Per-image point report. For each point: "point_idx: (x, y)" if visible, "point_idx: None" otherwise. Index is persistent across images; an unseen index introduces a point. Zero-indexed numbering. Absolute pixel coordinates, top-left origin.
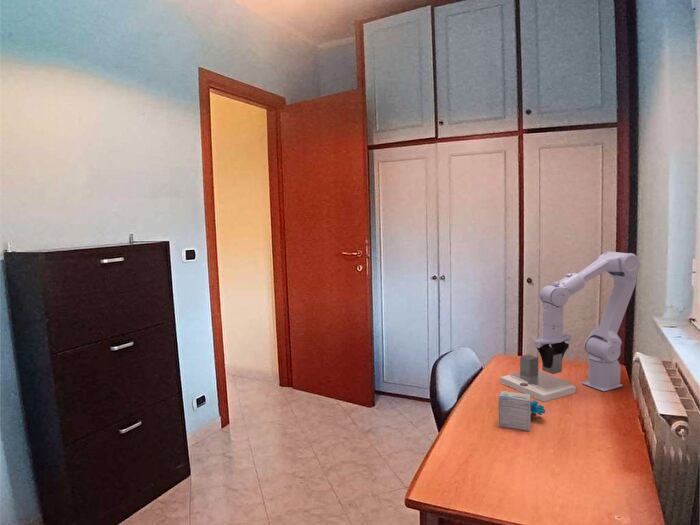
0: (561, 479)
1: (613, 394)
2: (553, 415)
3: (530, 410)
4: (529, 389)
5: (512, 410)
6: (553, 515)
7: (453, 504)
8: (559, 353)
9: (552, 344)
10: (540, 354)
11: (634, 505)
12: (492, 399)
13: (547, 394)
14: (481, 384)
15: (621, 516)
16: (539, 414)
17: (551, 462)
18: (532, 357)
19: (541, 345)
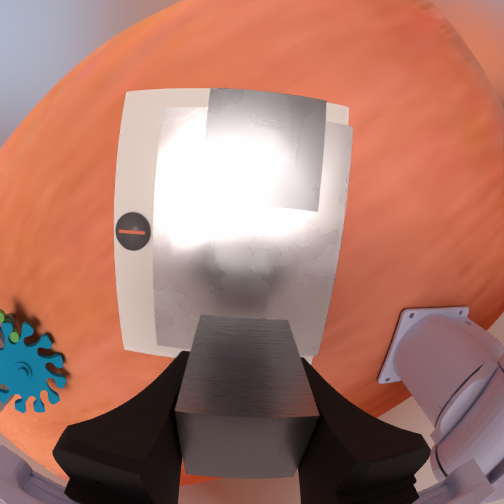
0: (25, 436)
1: (375, 397)
2: (100, 390)
3: (13, 396)
4: (117, 281)
5: None
6: (6, 436)
7: None
8: (274, 474)
9: (340, 468)
10: (130, 403)
11: (69, 478)
12: (19, 220)
13: (144, 352)
14: (73, 86)
15: (51, 471)
16: (62, 375)
17: (26, 425)
18: (277, 173)
19: (63, 499)
